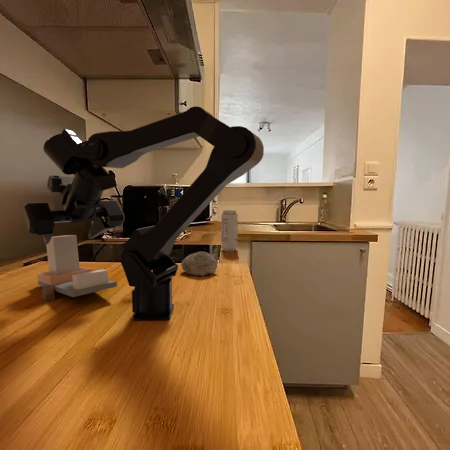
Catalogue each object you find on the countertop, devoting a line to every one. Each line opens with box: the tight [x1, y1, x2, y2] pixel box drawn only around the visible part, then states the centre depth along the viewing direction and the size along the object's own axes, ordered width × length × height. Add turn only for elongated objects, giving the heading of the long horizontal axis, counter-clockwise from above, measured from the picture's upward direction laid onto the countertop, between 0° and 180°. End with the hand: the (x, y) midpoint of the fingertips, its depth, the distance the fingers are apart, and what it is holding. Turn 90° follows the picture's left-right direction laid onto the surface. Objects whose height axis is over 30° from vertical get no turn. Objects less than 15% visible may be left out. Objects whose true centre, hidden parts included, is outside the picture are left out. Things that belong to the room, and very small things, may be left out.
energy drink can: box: [220, 209, 239, 253], centre depth 114 cm, size 6×6×15 cm
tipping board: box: [37, 266, 118, 298], centre depth 67 cm, size 21×9×4 cm, turn 47°
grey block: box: [45, 234, 81, 276], centre depth 71 cm, size 5×5×10 cm
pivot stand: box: [40, 285, 56, 302], centre depth 67 cm, size 2×13×2 cm, turn 137°
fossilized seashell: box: [180, 251, 218, 277], centre depth 85 cm, size 11×11×7 cm
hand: (68, 239), depth 68 cm, fingers open, 9 cm apart
